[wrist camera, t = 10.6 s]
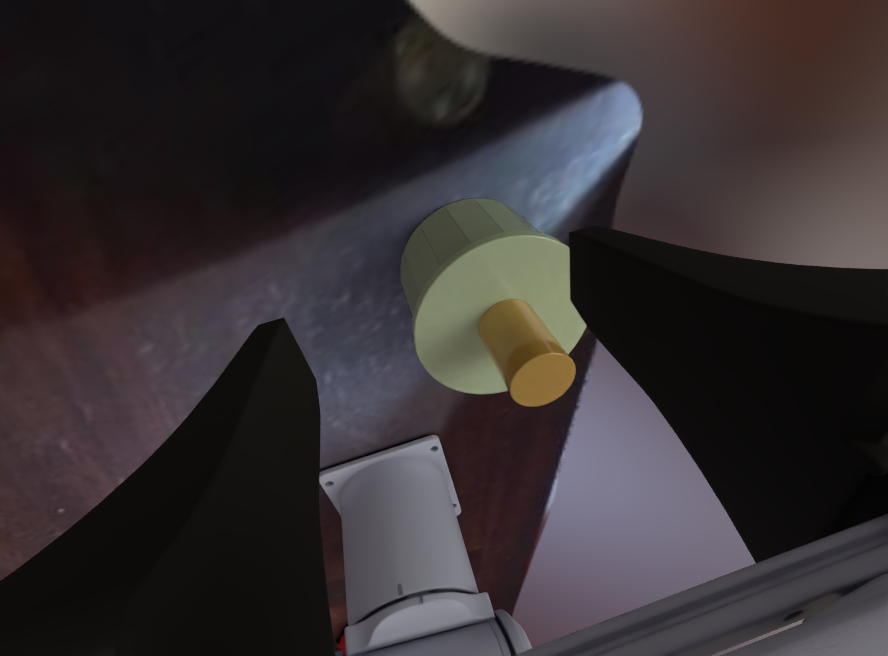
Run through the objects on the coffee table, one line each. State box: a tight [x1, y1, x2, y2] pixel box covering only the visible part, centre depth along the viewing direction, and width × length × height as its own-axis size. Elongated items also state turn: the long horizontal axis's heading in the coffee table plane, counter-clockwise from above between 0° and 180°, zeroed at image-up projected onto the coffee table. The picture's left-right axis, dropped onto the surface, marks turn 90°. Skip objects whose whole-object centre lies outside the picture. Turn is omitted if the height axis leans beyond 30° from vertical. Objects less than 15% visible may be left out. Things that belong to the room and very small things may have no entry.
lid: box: [412, 231, 587, 407], centre depth 17 cm, size 8×8×5 cm
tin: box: [400, 198, 541, 318], centre depth 20 cm, size 7×7×5 cm
